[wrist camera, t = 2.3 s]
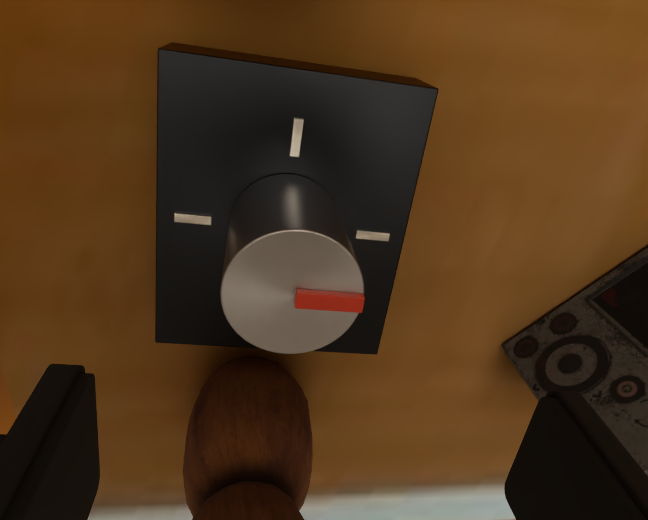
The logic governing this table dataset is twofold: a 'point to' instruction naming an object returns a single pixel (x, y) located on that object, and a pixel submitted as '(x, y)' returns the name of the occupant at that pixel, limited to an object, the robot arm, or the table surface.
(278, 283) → the dial
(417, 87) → the panel
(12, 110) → the table surface
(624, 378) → the camera
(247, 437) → the wooden figurine
